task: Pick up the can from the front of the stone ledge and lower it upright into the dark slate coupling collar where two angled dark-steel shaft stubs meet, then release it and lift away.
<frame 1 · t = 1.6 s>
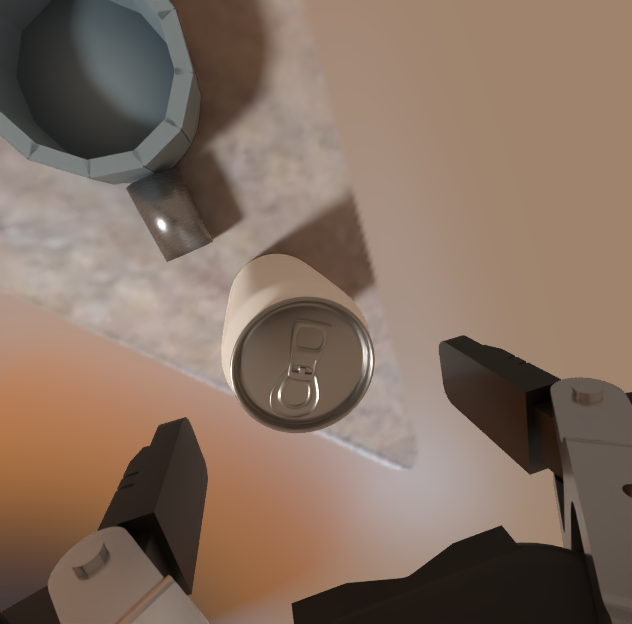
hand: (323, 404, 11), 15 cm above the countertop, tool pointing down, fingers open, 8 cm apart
can: (276, 298, 25), on the countertop
shaft b: (176, 216, 22), on the countertop
collar: (111, 92, 20), on the countertop
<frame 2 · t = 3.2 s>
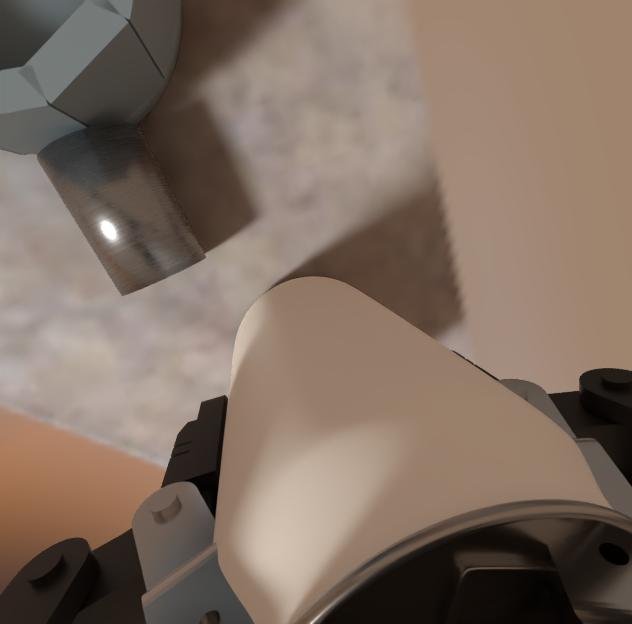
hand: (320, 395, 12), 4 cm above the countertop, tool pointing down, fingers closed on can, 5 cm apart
can: (309, 346, 16), on the countertop, touching gripper
shaft b: (143, 214, 13), on the countertop
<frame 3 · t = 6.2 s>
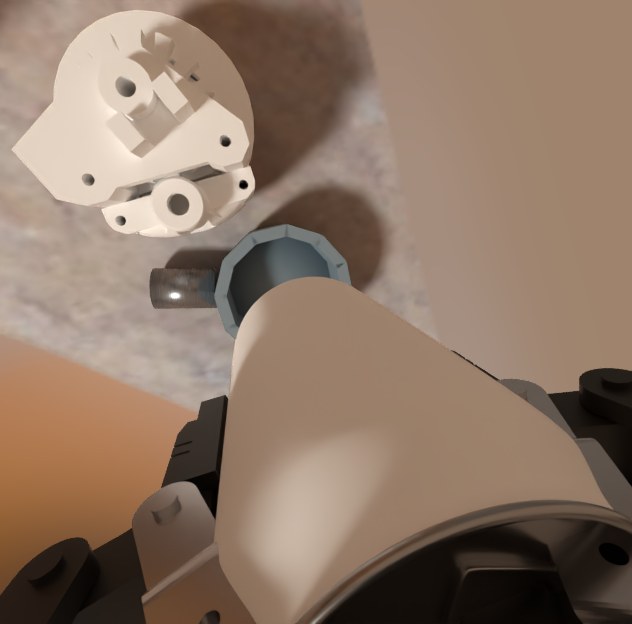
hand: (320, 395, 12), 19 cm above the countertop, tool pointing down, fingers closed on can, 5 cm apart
can: (309, 346, 16), point 15 cm above the countertop, touching gripper
shaft a: (189, 285, 28), on the countertop
mechanical part: (178, 149, 26), on the countertop
collar: (281, 284, 30), on the countertop
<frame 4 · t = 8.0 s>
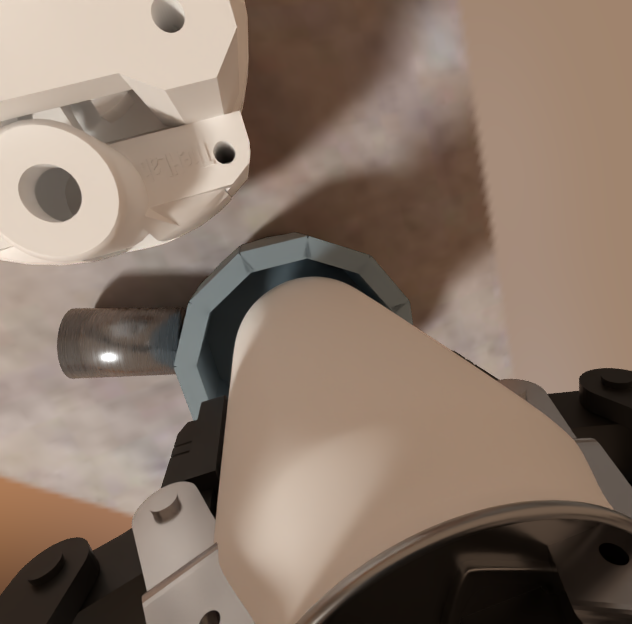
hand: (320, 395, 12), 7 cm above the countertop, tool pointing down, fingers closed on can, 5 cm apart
can: (309, 346, 16), point 3 cm above the countertop, touching gripper
shaft a: (139, 331, 17), on the countertop
mechanical part: (114, 100, 15), on the countertop
collar: (290, 328, 19), on the countertop
when the fingers open (6 cm above the countertop, at t = 9.1 s): can drops 1 cm, resting on collar.
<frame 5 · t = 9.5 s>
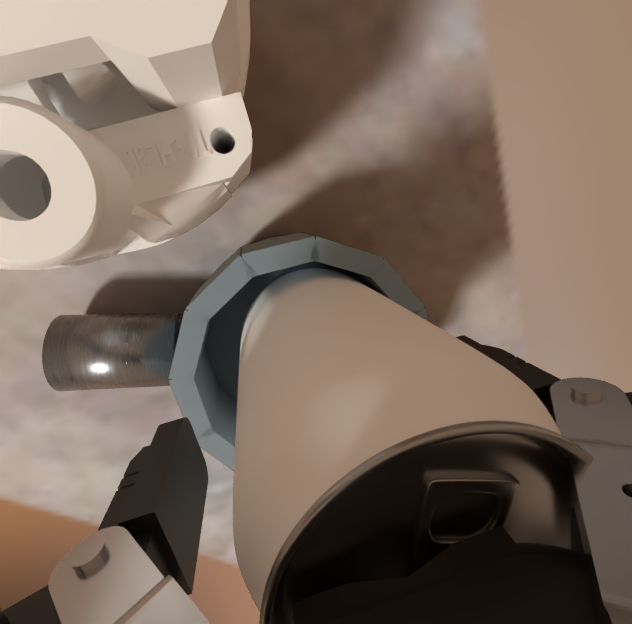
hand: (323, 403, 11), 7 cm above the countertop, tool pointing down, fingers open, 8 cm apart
can: (311, 334, 17), point 1 cm above the countertop, touching collar
shaft a: (134, 338, 16), on the countertop
mechanical part: (105, 90, 14), on the countertop
collar: (294, 335, 17), on the countertop
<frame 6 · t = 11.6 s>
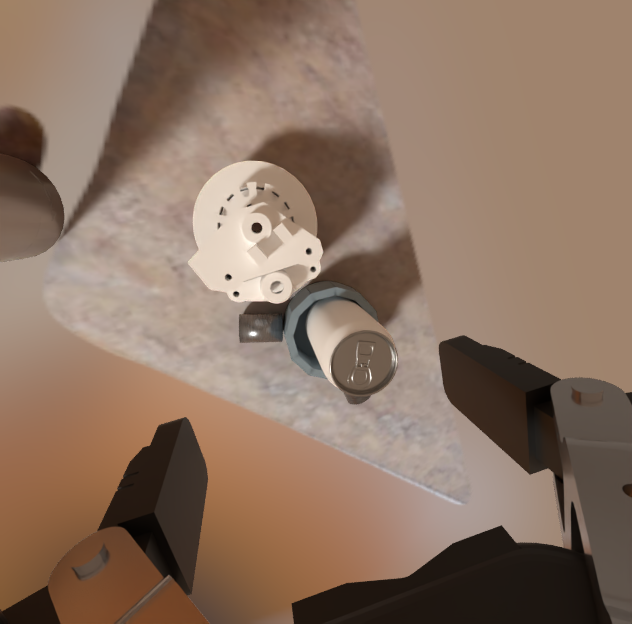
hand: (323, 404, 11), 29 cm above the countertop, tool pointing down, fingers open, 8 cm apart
can: (333, 322, 40), point 1 cm above the countertop, touching collar
shaft a: (260, 324, 39), on the countertop
mechanical part: (257, 231, 37), on the countertop
shaft b: (349, 375, 43), on the countertop
collar: (325, 322, 41), on the countertop
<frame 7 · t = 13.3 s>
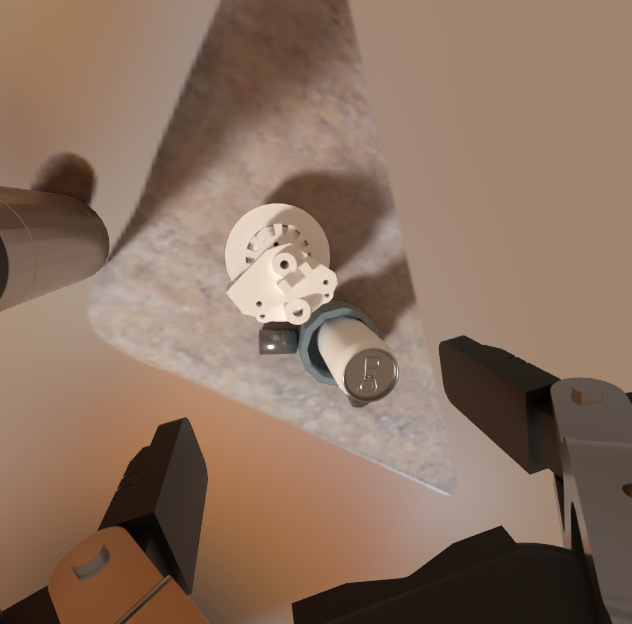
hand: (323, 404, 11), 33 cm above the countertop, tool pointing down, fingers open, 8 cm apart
can: (339, 335, 46), point 1 cm above the countertop, touching collar
shaft a: (276, 337, 45), on the countertop
mechanical part: (275, 257, 43), on the countertop
shaft b: (352, 381, 49), on the countertop
collar: (332, 336, 46), on the countertop
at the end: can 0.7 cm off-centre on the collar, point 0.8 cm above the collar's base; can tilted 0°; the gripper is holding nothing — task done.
